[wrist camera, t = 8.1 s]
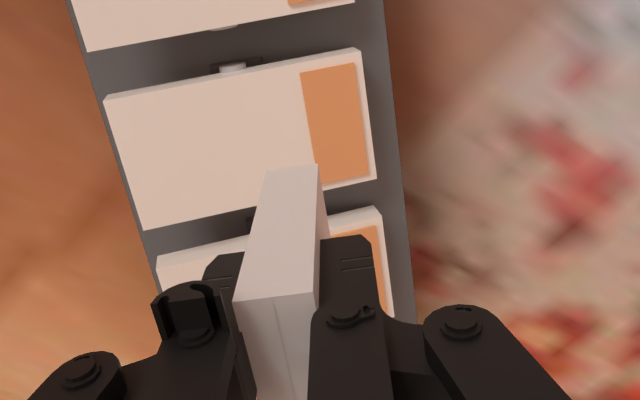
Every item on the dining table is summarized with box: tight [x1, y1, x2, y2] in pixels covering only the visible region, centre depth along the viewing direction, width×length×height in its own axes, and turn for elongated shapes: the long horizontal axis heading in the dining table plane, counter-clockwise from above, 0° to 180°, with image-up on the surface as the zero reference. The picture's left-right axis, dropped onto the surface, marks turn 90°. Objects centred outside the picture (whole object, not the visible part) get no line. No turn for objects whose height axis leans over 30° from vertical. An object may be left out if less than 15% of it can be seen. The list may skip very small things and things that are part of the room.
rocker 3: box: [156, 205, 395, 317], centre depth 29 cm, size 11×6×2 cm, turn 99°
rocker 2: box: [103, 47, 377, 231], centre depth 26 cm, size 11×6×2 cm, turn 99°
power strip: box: [65, 0, 418, 324], centre depth 29 cm, size 14×31×6 cm, turn 9°
